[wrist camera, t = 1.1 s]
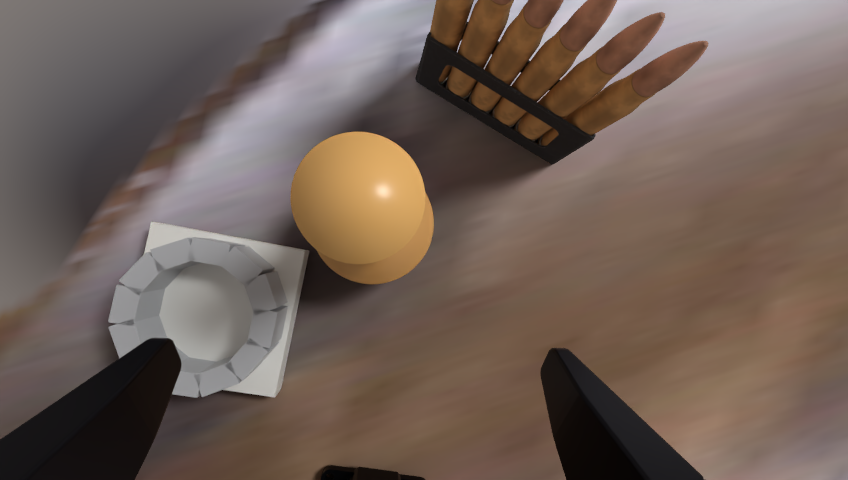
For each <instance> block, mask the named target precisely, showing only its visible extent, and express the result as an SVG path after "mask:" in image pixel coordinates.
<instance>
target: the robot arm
mask: <svg viewBox="0 0 848 480" xmlns="http://www.w3.org/2000/svg"><path fill="white" fill-rule="evenodd" d="M181 365H182V363H181V359H180V356H179V354H178V351H177V349H176V346H175V344H174V342H173V340H172V339H170V338H150V339H148V340H146V341H144V342H143V343H141V344H140V345H138V346H137V347H135V348H134V349H133V350H131V351H130V352H128V353H127V354H125V355H124V356H122V357H121V358H119V359H118V360H116V361H115V362H113V363H112V364H110V365H109V366H108V367H106V368H105V369H103V370H102V371H100V372H99V373H97V374H96V375H94V376H93V377H91V378H90V379H88V380H87V381H86V382H84V383H83V384H81V385H80V386H78V387H77V388H75V389H74V390H72V391H71V392H69V393H68V394H66V395H65V396H63V397H62V398H61V399H59V400H58V401H56V402H55V403H53V404H52V405H50V406H49V407H47V408H46V409H44V410H43V411H41V412H40V413H39V414H37V415H36V416H34V417H33V418H31V419H30V420H28V421H27V422H25V423H24V424H22V425H21V426H19V427H18V428H16V429H15V430H14V431H12V432H11V433H9V434H8V435H6V436H5V437H3V438H2V439H0V480H135V478H136V476H137V474H138V472H139V470H140V468H141V466H142V464H143V462H144V460H145V458H146V456H147V454H148V452H149V450H150V447H151V445H152V443H153V441H154V439H155V437H156V434H157V432H158V429H159V427H160V424H161V421H162V419H163V416H164V414H165V411H166V408H167V406H168V403H169V400H170V398H171V395H172V392H173V390H174V387H175V384H176V382H177V379H178V376H179V374H180V371H181ZM541 380H542V385H543V390H544V395H545V400H546V405H547V409H548V414H549V419H550V424H551V429H552V433H553V437H554V441H555V444H556V448H557V451H558V454H559V457H560V461H561V464H562V467H563V470H564V473H565V477H566V480H704V479H703V476H702V475H701V474H700V473H699V472H698V471H696V470H695V469H694V468H693V467H692V466H691V465H690V464H689V463H688V462H687V461H686V460H685V459H684V458H683V457H682V456H681V455H680V454H678V453H677V452H676V451H675V450H674V449H673V448H672V447H671V446H670V445H669V444H668V443H667V442H666V441H665V440H664V439H663V438H662V437H661V436H659V435H658V434H657V433H656V432H655V431H654V430H653V429H652V428H651V427H650V426H649V425H648V424H647V423H646V422H645V421H644V420H643V419H641V418H640V417H639V416H638V415H637V414H636V413H635V412H634V411H633V410H632V409H631V408H630V407H629V406H628V405H627V404H626V403H625V402H623V401H622V400H621V399H620V398H619V397H618V396H617V395H616V394H615V393H614V392H613V391H612V390H611V389H610V388H609V387H608V386H607V385H606V384H604V383H603V382H602V381H601V380H600V379H599V378H598V377H597V376H596V375H595V374H594V373H593V372H592V371H591V370H590V369H589V368H588V367H586V366H585V365H584V364H583V363H582V362H581V361H580V360H579V359H578V358H577V357H576V356H575V355H574V354H573V353H572V352H571V351H569V350H568V349H565V348H552V349H550V350H549V352H548V354H547V356H546V358H545V361H544V363H543V365H542V367H541ZM330 473H331V474H333V476H334V477H332V478H329V477H327V474H330ZM321 480H425V479H424V478H422V477H416V476H409V475H401V474H398V472H393V471H386V470H378V469H371V468H363V467H358V468H357V469H356V468H348V467H341V466H333V465H331V466H327V467H326V468H325V469H324V470H323V473H322V476H321Z"/></svg>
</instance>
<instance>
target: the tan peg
mask: <svg viewBox="0 0 848 480" xmlns="http://www.w3.org/2000/svg"><path fill="white" fill-rule="evenodd" d="M291 207H292V213H293V216H294V219H295V222H296V224H297V227H298V228H299V230H300V232H301V233H302V235H303V236H304V237H305V239H306V240H307V241H308V242H309V243H310V244H311V245H312V246H313V247H314V248H315V249H316V250H317V252H318V254H319V255H320V257H321V258H322V260H323V261H324V262H325V263H326V264H327V265H328V266H329V267H330V268H331V269H332V270H333V271H334V272H336V273H337V274H339V275H340V276H342V277H344V278H346V279H349V280H351V281H354V282H358V283H363V284H381V283H386V282H390V281H393V280H396V279H398V278H400V277H402V276H404V275H405V274H407V273H408V272H410V271H411V270H412V269H413V268H414V267H415V266H416V265H417V264H418V263H419V262H420V261H421V260H422V258H423V257H424V255H425V254H426V252H427V250H428V248H429V245H430V243H431V239H432V236H433V229H434V218H433V211H432V207H431V203H430V201H429V199H428V196H427V194H426V193H425V188H424V183H423V180H422V176H421V174H420V172H419V169H418V168H417V166H416V164H415V162H414V161H413V160H412V158H411V157H410V156H409V155H408V154H407V153H406V152H405V150H404V149H402V148H401V147H400V146H399V145H397V144H396V143H394V142H393V141H391V140H389V139H387V138H385V137H383V136H380V135H377V134H373V133H368V132H346V133H342V134H338V135H335V136H332V137H330V138H328V139H326V140H324V141H322V142H321V143H319V144H318V145H316V146H315V147H314V148H313V149H312V150H311V151H310V152H308V154H307V155H306V156H305V157H304V158H303V160H302V161H301V163H300V165H299V166H298V168H297V170H296V173H295V175H294V178H293V182H292V187H291Z"/></svg>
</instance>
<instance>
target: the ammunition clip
mask: <svg viewBox="0 0 848 480" xmlns="http://www.w3.org/2000/svg"><path fill="white" fill-rule="evenodd" d="M473 1H474V0H436V5H435V10H434V15H433V20H432V25H431V30H430V32H429V34H428V35H427V38H426V42H425V46H424V49H423V53H422V57H421V61H420V64H419V68H418V72H417V75H416V81H417V82H418V83H419V84H421V85H422V86H424V87H426V88H427V89H429V90H431V91H432V92H434V93H435V94H437V95H439V96H440V97H442V98H444V99H445V100H447V101H449V102H450V103H452V104H454V105H455V106H457V107H458V108H460V109H462V110H463V111H465V112H467V113H468V114H470V115H472V116H473V117H475V118H477V119H478V120H480V121H482V122H483V123H485V124H486V125H488V126H490V127H491V128H493V129H495V130H496V131H498V132H500V133H501V134H503V135H505V136H506V137H508V138H509V139H511V140H513V141H514V142H516V143H518V144H519V145H521V146H523V147H524V148H526V149H528V150H529V151H531V152H532V153H534V154H536V155H537V156H539V157H541V158H542V159H544V160H546V161H547V162H549V163H551V164H555V163H556V162H558V161H559V160H561V159H563V158H564V157H566V156H567V155H569V154H571V153H572V152H574V151H576V150H577V149H579V148H580V147H582V146H584V145H585V144H587V143H588V142H590V141H592V140H593V139H594V137H595V133H597V132H599V131H600V130H602V129H604V128H606V127H607V126H609V125H611V124H613V123H614V122H616V121H618V120H620V119H621V118H623V117H625V116H626V115H628V114H630V113H631V112H633V111H634V110H635V109H636V108H637V107H638V106H639V105H640V104H641V103H642V102H644V101H646V100H647V99H649V98H650V97H652V96H653V95H655V93H657V92H658V91H660V90H662V89H663V88H665V87H666V86H668V85H670V84H671V83H672V82H674V81H675V80H676V79H678V78H679V77H680V76H682V75H683V74H684V73H685V72H686V71H687V70H688V69H689V68H690V67H691V66H692V65H693V64H694V63H695V62H696V61H697V60H698V59H699V58H700V57H701V56H702V54H703V53H704V51H705V50H706V48H707V47H708V42H707V41H698V42H693V43H689V44H686V45H684V46H681V47H678V48H676V49H674V50H671V51H669V52H667V53H665V54H664V55H662V56H660V57H658V58H657V59H655V60H653V61H651V62H650V63H648V64H647V65H645V66H644V67H642V68H641V69H639V70H637V71H635V72H634V73H632V74H631V75H629V76H627V77H626V78H623V79H621V80H618V81H616V82H614V83H612V84H611V85H609V86H608V87H606V88H605V89H604V90H602V89H603V88H604V86H605V85H606V84H607V83H608V81H609V80H610V79H612V78H613V77H614V76H615V75H616V74H617V73H619V72H620V70H621V69H622V68H624V67H625V66H626V65H627V64H629V63H630V62H631V61H632V60H633V59H634V58H635V57H636V56H637V55H638V54H639V53H640V52H641V51H642V50H643V49H644V48H645V47H646V46H647V45H648V43H649V42H650V41H651V40H652V38H653V37H654V36H655V34H656V33H657V32H658V30H659V28H660V27H661V25H662V23H663V21H664V18H665V14H664V13H663V12H659V13H655V14H652V15H649V16H647V17H645V18H643V19H641V20H639V21H637V22H635V23H634V24H632V25H630V26H629V27H627V28H625V29H624V30H623V31H621V32H620V33H618V34H617V35H616V36H614V37H613V38H612V39H611V40H610V41H609V42H608V43H606V44H605V45H604V46H603V47H601V48H600V49H599V50H597V51H596V52H595V53H594V54H593V55H592V56H590V57H589V58H587V59H585V60H584V61H582V62H580V63H579V64H577V65H576V66H575V67H574V68H573V69H572V70H571V71H570V72H569V73H568V74H567V75H566V76H565V77H564V78H563V79H562V80H559V79H560V78H561V77H562V76H563V75H564V74H565V73H566V72H567V71H568V69H569V68H570V67H571V66H572V64H573V62H574V61H575V59H576V57H577V56H578V54H579V53H580V52H581V51H582V50H583V49H584V47H585V46H586V45H587V43H588V42H589V41H590V40H591V39H592V38H593V37H594V36H595V34H596V33H597V32H598V31H599V29H600V28H601V27H602V25H603V24H604V23H605V21H606V20H607V18H608V17H609V15H610V13H611V12H612V10H613V8H614V6H615V4H616V2H617V0H588V1H586V2H585V3H584V4H583V5H582V6H581V7H580V8H579V9H578V10H577V11H576V12H575V13H574V14H573V16H572V17H571V18H570V19H569V20H568V22H567V23H566V24H565V25H563V26H562V28H561V29H560V30H559V31H558V32H557V33H556V34H555V35H554V36H553V37H552V38H550V39H549V40H548V41H547V42H545V43H544V45H543V46H542V47H541V48H540V49H539V51H538V52H537V53H536V54H535V56H534V57H533V58H532V60H531V61H529V59H530V57H531V56H532V55H533V53H534V52H535V50H536V49H537V48H538V46H539V44H540V42H541V39H542V36H543V34H544V32H545V31H546V29H547V27H548V26H549V24H550V23H551V20H552V18H553V17H554V15H555V14H556V12H557V11H558V9H559V8H560V6H561V4H562V2H563V0H528V2H527V3H526V4H525V6H524V7H523V9H522V10H521V12H520V13H519V15H518V16H517V17H516V18H515V19H514V20H513V22H512V23H511V24H510V25H509V26H508V28H507V29H506V31H505V33H504V35H503V37H502V39H501V40H500V42H499V41H498V39H499V37H500V35H501V34H502V32H503V30H504V28H505V25H506V23H507V20H508V16H509V12H510V8H511V6H512V3H513V1H514V0H478V1H477V3H476V4H475V6H474V9H473V11H472V14H471V17H470V20H469V22H467V19H468V16H469V13H470V10H471V7H472V4H473ZM461 40H462V42H461V44H460V47H459V50H458V53H457V49H458V46H459V43H460V41H461ZM491 54H492V57H491V59H490V60H489V62H488V64H487V66H486V68H485V69H483V68H484V67H485V65H486V63H487V61H488V59H489V57H490V55H491ZM519 72H521V74H520V75H519V77H518V78H517V79H516V80H515V82H514V83H513V84H512V86H510V85H511V83H512V82H513V81H514V79H515V78H516V77H517V75H518V74H519ZM548 90H550V91H549V92H548V93H547V94H546V95H545V96H544V97H543V98H542V99H541V100H540V101H539V102H538V103H537V101H538V100H539V99H540V98H541V97H542V96H543V95H544V94H545V93H546V92H547V91H548ZM601 90H602V91H601ZM600 91H601V92H600ZM596 94H597V95H596ZM592 97H593V98H592Z"/></svg>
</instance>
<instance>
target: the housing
mask: <svg viewBox="0 0 848 480" xmlns="http://www.w3.org/2000/svg"><path fill="white" fill-rule="evenodd" d="M308 256H309V250H304V249H299V248H293V247H288V246H283V245H277V244H272V243H267V242H261V241H256V240H251V239H245V238H240V237H235V236H229V235H224V234H219V233H213V232H208V231H203V230H197V229H192V228H187V227H181V226H176V225H171V224H165V223H157V222H151V225H150V230H149V234H148V239H147V243H146V247H145V252H144V255H143V256H142V257H141V258H140V259H139V260H138V261H137V262H136V263H135V264H134V265H133V266H132V267H131V268H130V270H129V271H128V272H127V273H126V274H125V275H124V276H123V277H122V278H121V279H120V280H119V281H120V282H121V283H122V284H119V285H116V290H115V294H114V298H113V303H112V307H111V311H110V316H109V320H108V322H110V323H116V324H115V325H112V326H109V327H108V328H109V330H110V333H111V336H112V339H113V342H114V345H115V347H116V350H117V353H118V356H119V358H121V357H122V356H124V355H125V354H127V353H128V352H130V351H131V350H133V349H134V348H135V347H137V346H138V345H140V344H141V343H143V342H144V341H146V340H148V339H150V338H170V339H172V340H173V342H174V344H175V346H176V349H177V351H178V354H179V356H180V359H181V363H182V365H181V371H180V374H179V376H178V379H177V382H176V384H175V387H174V390H173V392H172V394H174V395H181V396H188V397H195V398H197V397H199V396H200V395H201V396H202V397H204V396H207V395H209V394H212V393H215V392H218V391H220V390H228V391H235V392H241V393H248V394H255V395H262V396H268V397H275V396H276V395H277V394H278V392H279V391H280V390H281V387H282V382H283V377H284V372H285V367H286V362H287V357H288V353H289V348H290V343H291V338H292V333H293V328H294V324H295V319H296V314H297V309H298V304H299V299H300V295H301V290H302V285H303V280H304V275H305V270H306V265H307V261H308Z"/></svg>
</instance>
